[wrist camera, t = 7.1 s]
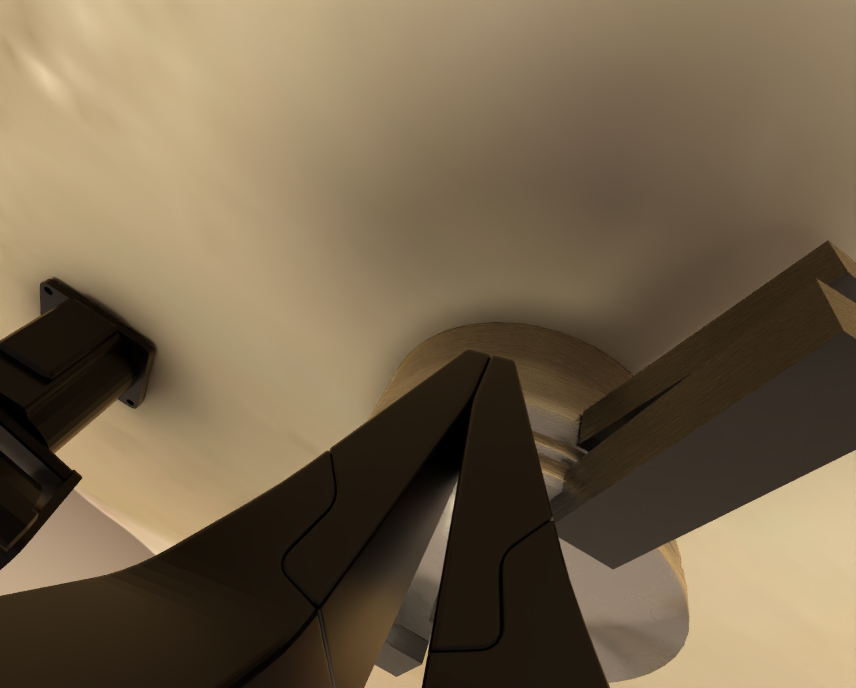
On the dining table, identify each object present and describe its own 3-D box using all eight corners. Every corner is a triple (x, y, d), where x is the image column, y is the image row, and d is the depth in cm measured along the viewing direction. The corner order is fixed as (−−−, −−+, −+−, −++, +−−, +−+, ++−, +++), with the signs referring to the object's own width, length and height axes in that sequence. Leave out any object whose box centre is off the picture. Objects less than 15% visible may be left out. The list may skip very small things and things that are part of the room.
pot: (508, 566, 29) (483, 679, 24) (325, 445, 28) (264, 542, 23) (984, 341, 14) (1142, 523, 10) (640, 57, 13) (639, 115, 8)
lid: (507, 691, 24) (496, 754, 22) (273, 556, 23) (241, 609, 21) (1151, 488, 9) (1281, 627, 7) (549, 103, 8) (523, 147, 7)
